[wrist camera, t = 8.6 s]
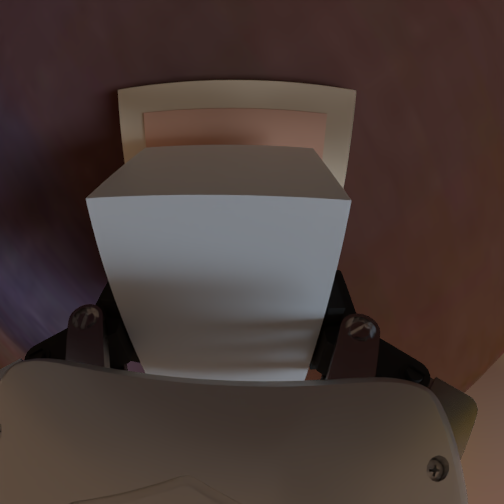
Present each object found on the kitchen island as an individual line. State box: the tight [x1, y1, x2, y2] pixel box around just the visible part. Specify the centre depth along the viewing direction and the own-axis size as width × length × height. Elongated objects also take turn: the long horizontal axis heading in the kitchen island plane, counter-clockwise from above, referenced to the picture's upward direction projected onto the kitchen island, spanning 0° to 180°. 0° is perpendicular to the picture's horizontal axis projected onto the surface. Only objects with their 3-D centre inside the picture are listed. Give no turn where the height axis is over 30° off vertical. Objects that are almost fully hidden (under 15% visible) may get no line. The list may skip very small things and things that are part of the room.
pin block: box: [118, 80, 356, 188], centre depth 13 cm, size 14×10×4 cm
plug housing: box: [86, 145, 351, 381], centre depth 11 cm, size 10×6×4 cm, turn 178°
